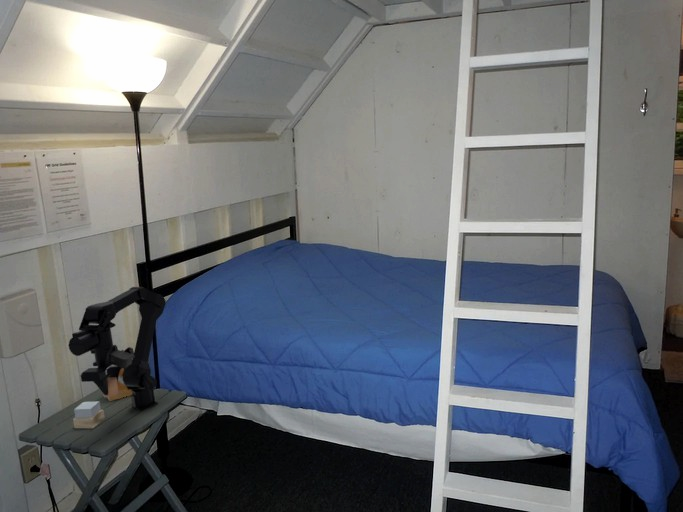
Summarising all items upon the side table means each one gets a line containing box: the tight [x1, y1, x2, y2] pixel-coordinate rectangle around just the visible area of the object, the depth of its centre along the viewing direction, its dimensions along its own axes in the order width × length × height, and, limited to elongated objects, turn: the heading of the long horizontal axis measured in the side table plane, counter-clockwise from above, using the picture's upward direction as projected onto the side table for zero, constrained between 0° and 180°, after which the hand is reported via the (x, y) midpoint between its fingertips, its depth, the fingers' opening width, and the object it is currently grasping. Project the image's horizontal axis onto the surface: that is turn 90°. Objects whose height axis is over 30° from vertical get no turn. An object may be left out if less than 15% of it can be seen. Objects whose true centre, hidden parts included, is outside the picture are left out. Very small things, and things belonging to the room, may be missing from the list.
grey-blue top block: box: [73, 400, 102, 418], centre depth 177 cm, size 6×6×3 cm
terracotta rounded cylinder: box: [102, 377, 119, 399], centre depth 174 cm, size 4×4×5 cm
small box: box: [107, 368, 132, 402], centre depth 198 cm, size 8×6×13 cm
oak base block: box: [72, 409, 106, 429], centre depth 178 cm, size 6×6×4 cm
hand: (110, 391), depth 174 cm, fingers closed on terracotta rounded cylinder, 4 cm apart
